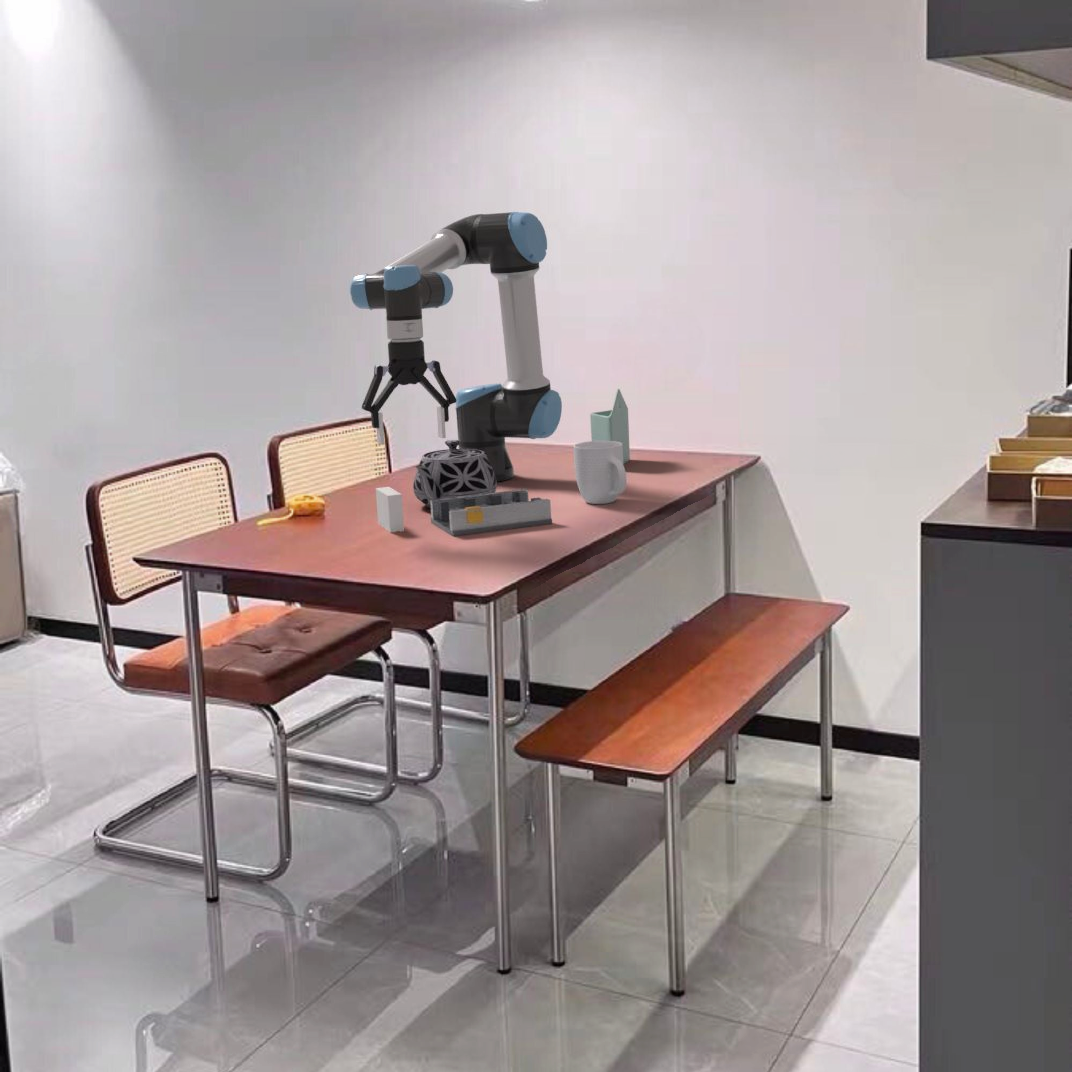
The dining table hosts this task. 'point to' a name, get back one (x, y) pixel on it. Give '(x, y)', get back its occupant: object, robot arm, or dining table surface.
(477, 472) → the teapot
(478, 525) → the rack
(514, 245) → the robot arm
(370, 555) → the dining table surface
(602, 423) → the planter
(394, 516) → the panel
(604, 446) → the mug
